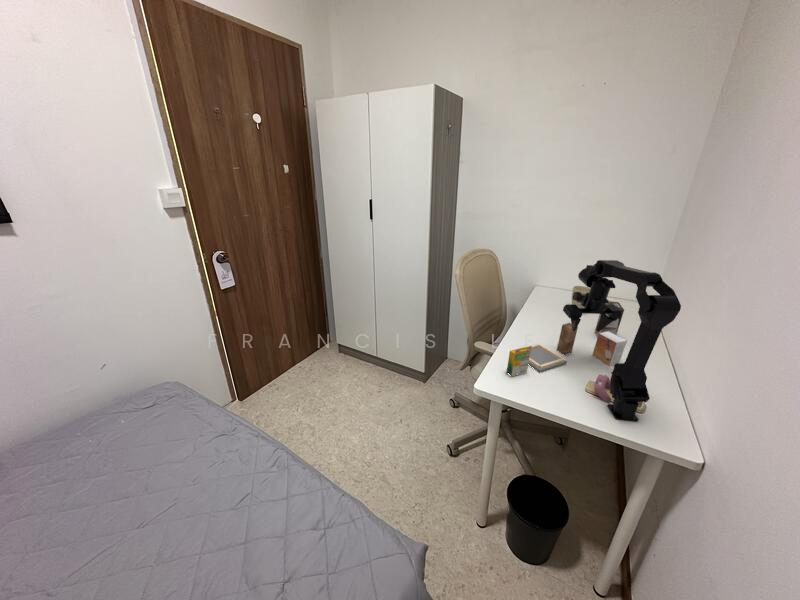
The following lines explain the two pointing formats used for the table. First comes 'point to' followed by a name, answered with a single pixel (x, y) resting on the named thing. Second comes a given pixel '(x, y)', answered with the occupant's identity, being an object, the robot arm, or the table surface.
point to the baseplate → (544, 358)
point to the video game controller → (602, 387)
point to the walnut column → (566, 339)
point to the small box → (609, 348)
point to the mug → (583, 291)
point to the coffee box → (613, 325)
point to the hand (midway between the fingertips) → (585, 330)
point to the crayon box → (518, 361)
